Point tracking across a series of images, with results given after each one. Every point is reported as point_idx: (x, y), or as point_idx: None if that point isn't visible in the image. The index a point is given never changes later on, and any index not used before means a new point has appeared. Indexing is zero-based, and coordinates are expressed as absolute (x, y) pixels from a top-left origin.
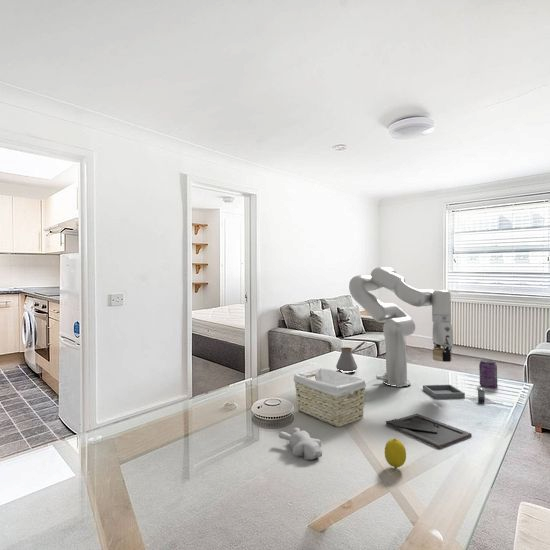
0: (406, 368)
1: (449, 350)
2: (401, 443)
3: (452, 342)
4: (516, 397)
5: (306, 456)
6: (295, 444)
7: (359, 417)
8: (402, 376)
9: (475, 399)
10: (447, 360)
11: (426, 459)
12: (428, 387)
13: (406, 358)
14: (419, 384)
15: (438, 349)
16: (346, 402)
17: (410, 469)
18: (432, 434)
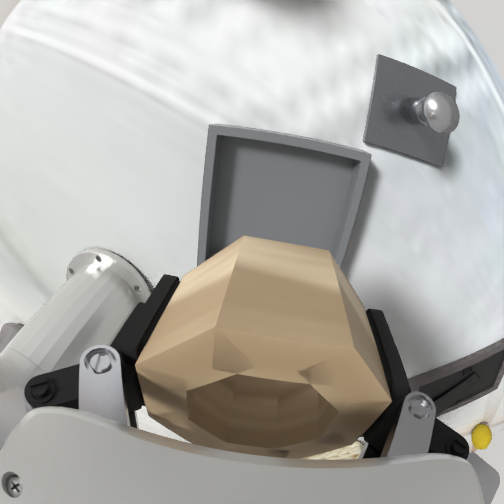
0: (87, 312)
1: (436, 431)
2: (490, 441)
3: (476, 497)
4: None
5: None
6: None
7: (361, 445)
8: (123, 318)
9: (396, 122)
10: None
11: (492, 401)
12: (208, 242)
13: (57, 342)
14: (114, 215)
15: (192, 404)
16: None
17: (488, 415)
18: (476, 384)
